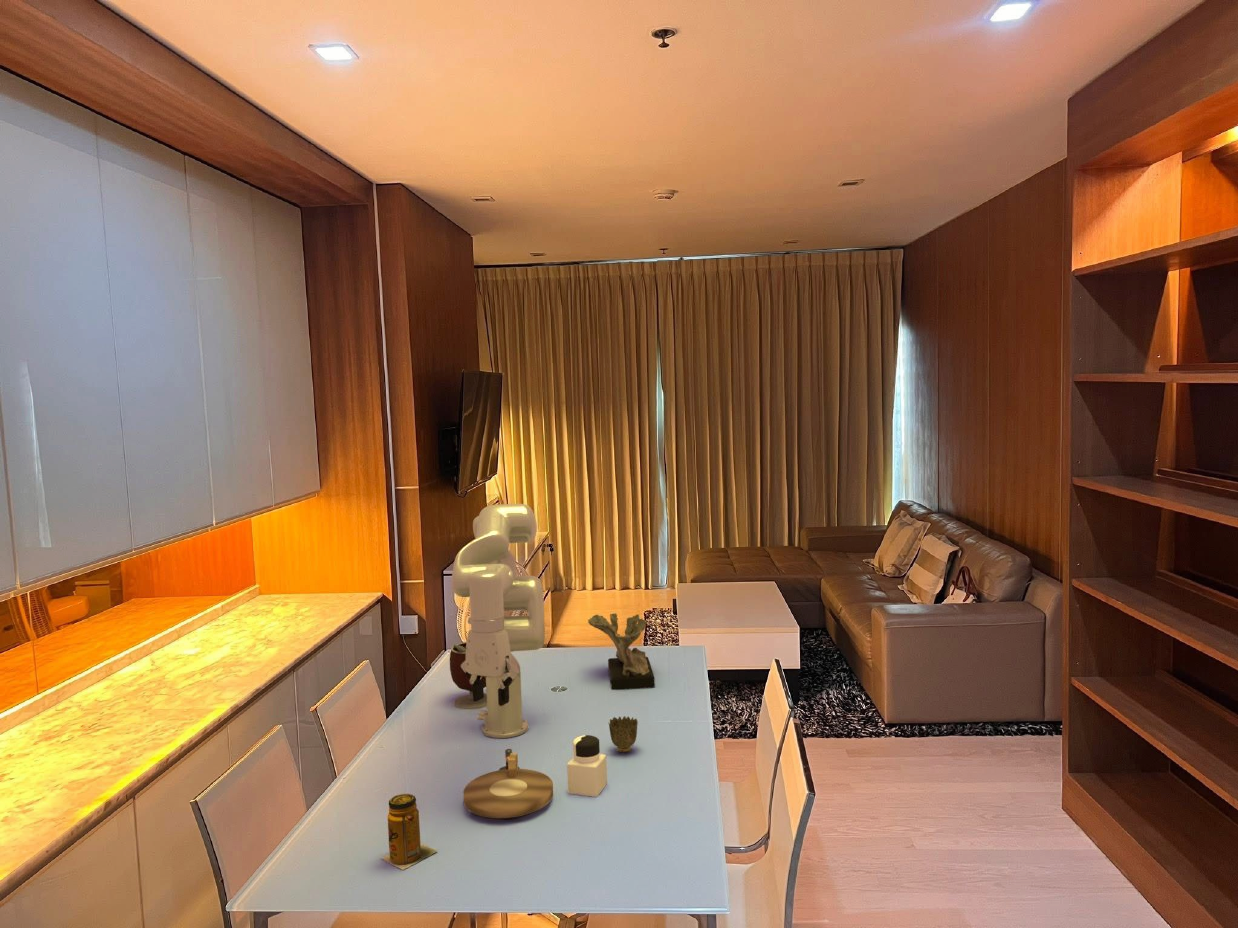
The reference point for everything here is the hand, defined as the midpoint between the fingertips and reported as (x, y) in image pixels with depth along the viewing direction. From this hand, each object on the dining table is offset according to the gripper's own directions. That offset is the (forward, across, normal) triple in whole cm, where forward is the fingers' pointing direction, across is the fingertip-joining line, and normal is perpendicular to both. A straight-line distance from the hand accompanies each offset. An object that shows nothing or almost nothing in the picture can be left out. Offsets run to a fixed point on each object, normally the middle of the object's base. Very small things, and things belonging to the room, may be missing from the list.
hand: (491, 701), depth 192 cm
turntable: (+20, +6, -2) cm, 21 cm away
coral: (+22, -10, +83) cm, 86 cm away
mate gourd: (+22, -42, +47) cm, 67 cm away
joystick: (+22, -3, +9) cm, 24 cm away
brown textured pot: (+22, +17, +33) cm, 43 cm away
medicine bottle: (+22, +19, +11) cm, 31 cm away
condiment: (+22, +1, -29) cm, 37 cm away
